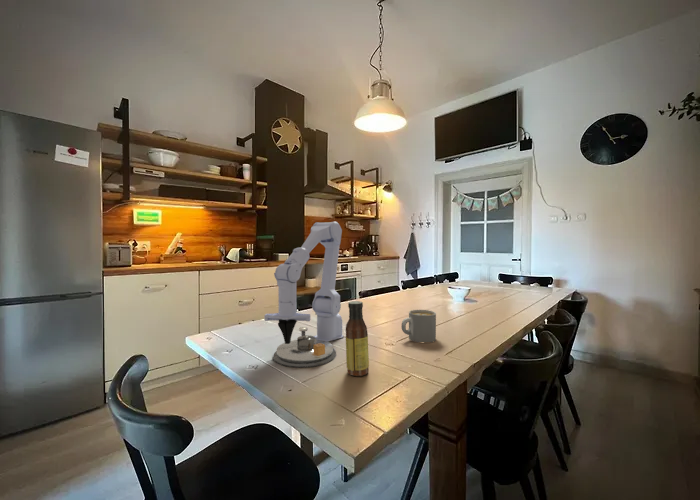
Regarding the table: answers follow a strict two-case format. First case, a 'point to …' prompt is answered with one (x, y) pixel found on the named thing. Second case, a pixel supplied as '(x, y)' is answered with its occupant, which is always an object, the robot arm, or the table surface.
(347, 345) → the sauce bottle
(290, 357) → the turntable
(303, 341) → the cover
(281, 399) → the table surface
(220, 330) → the table surface
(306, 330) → the small grey dumbbell
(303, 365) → the turntable base
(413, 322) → the coffee mug
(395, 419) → the table surface
